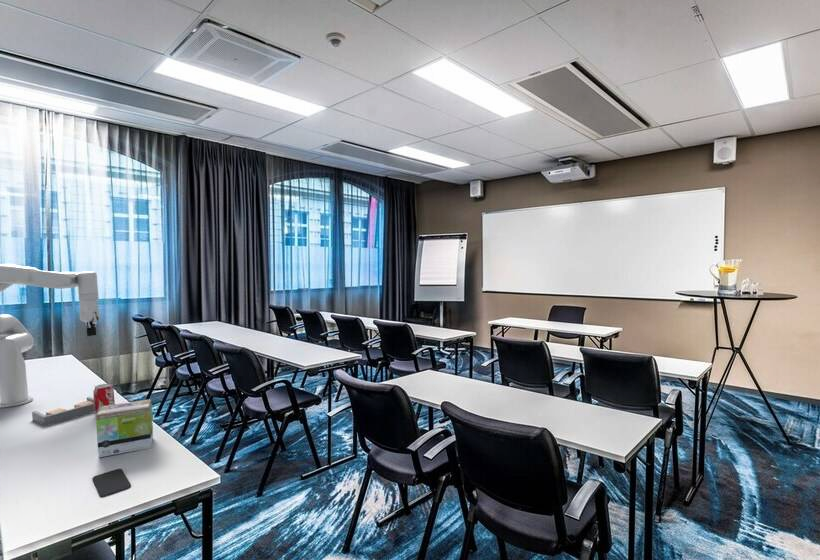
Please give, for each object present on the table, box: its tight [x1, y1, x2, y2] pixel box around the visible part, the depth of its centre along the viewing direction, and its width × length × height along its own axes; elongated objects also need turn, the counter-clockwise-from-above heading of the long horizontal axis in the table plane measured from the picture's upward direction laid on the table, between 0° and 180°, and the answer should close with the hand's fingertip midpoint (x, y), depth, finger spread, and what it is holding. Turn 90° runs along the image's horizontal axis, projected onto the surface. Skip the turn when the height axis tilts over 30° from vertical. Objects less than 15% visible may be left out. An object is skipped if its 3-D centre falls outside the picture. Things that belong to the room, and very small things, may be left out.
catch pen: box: [31, 396, 95, 427], centre depth 180 cm, size 13×20×4 cm, turn 148°
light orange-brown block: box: [45, 408, 67, 416], centre depth 177 cm, size 5×5×3 cm
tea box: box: [95, 398, 154, 459], centre depth 146 cm, size 15×10×15 cm, turn 117°
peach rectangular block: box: [73, 400, 94, 408], centre depth 185 cm, size 5×5×3 cm
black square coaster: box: [91, 468, 132, 498], centre depth 123 cm, size 7×1×15 cm
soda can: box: [92, 383, 116, 416], centre depth 179 cm, size 7×7×12 cm
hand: (91, 335), depth 204 cm, fingers closed
